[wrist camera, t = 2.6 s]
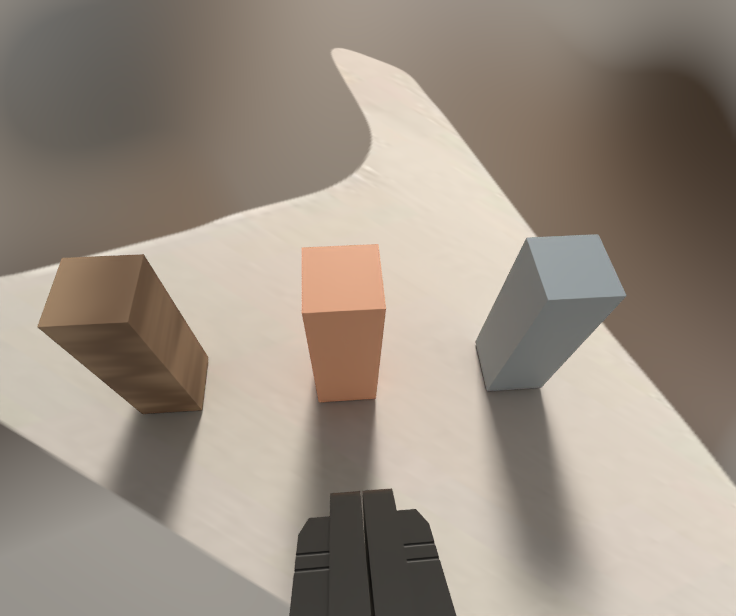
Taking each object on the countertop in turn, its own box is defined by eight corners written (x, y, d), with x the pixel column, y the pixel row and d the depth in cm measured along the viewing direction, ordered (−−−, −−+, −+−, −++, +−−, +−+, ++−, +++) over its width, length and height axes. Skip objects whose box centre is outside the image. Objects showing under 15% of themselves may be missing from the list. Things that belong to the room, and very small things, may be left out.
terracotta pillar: (318, 402, 31) (301, 313, 21) (317, 351, 34) (301, 247, 23) (375, 398, 32) (385, 308, 21) (371, 347, 34) (378, 244, 24)
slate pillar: (486, 391, 32) (548, 300, 22) (475, 341, 34) (526, 237, 24) (541, 387, 32) (626, 295, 22) (526, 338, 35) (598, 234, 24)
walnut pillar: (142, 414, 31) (37, 327, 20) (152, 360, 33) (61, 258, 23) (202, 409, 31) (127, 322, 21) (208, 357, 33) (143, 254, 23)
